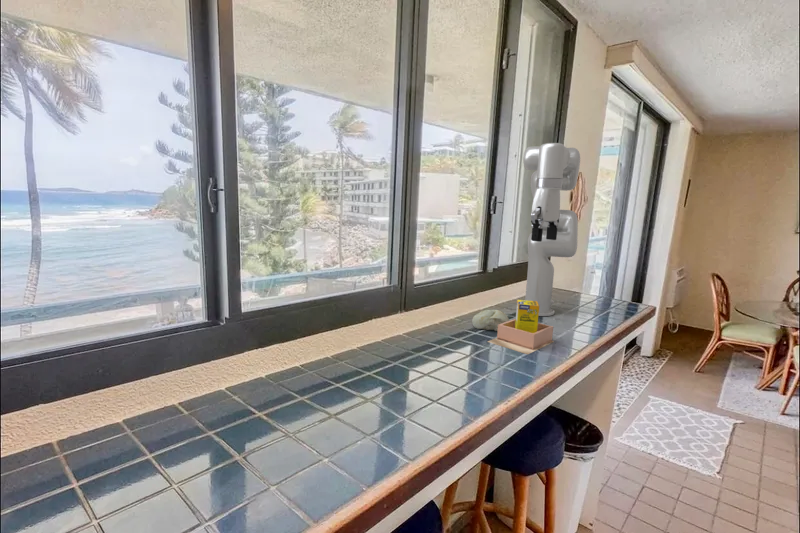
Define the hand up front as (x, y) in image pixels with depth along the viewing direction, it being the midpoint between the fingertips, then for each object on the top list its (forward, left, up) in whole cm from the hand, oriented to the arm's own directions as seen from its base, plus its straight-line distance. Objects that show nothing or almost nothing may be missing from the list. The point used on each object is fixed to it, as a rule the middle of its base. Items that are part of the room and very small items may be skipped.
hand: (543, 240), depth 128 cm
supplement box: (+13, +3, -29) cm, 31 cm away
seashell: (+11, -10, -31) cm, 34 cm away
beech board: (+15, +3, -30) cm, 34 cm away
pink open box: (+13, +3, -29) cm, 32 cm away
